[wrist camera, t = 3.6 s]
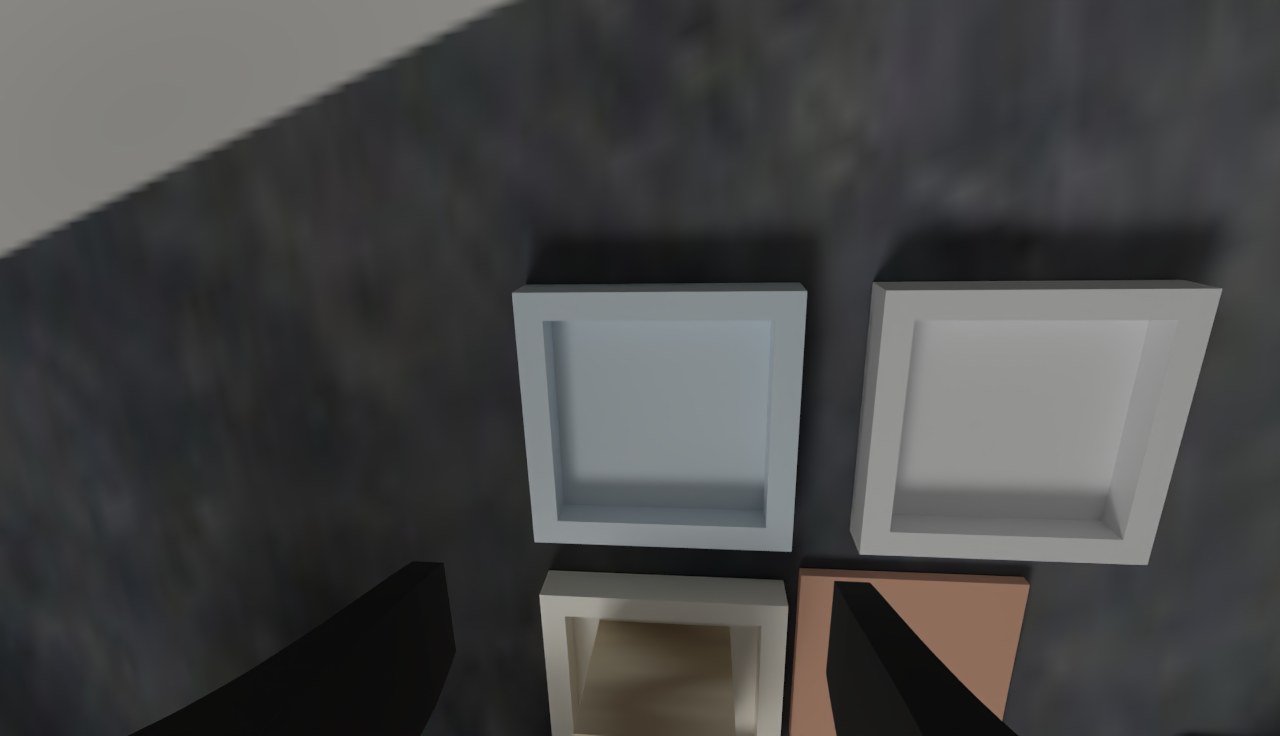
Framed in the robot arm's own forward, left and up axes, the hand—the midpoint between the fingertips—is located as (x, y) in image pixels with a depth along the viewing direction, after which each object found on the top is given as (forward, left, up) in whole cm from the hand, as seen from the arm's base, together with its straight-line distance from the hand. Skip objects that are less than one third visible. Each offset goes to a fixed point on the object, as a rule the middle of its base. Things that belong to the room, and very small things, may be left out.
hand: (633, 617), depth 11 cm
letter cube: (0, +9, -8) cm, 12 cm away
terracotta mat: (-8, +8, -8) cm, 14 cm away
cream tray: (0, +9, -8) cm, 13 cm away
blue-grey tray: (0, -1, -8) cm, 8 cm away
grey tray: (-10, -1, -8) cm, 13 cm away
